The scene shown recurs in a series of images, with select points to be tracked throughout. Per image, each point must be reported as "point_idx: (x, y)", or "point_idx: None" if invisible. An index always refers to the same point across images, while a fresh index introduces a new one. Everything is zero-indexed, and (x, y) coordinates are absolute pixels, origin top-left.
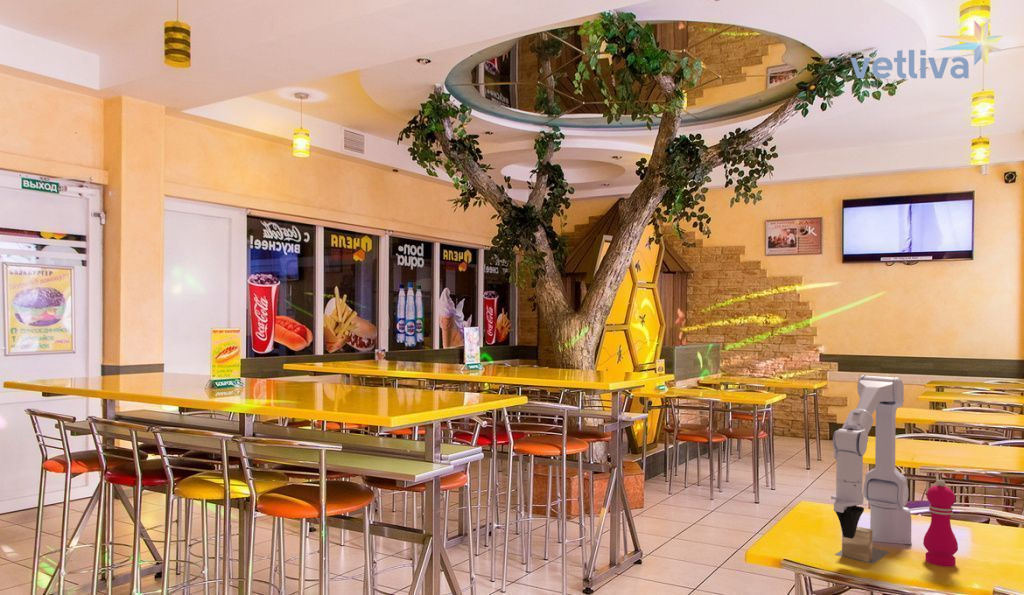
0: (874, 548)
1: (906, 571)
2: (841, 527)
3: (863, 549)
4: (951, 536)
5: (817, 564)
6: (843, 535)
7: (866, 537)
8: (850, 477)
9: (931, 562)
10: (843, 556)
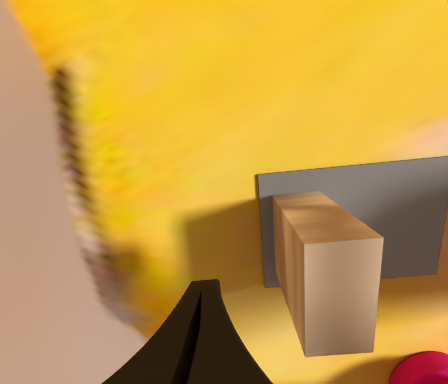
0: (441, 230)
1: (279, 352)
2: (173, 310)
3: (282, 280)
4: None
5: (117, 181)
6: (189, 286)
7: (297, 326)
8: None
9: (396, 375)
10: (264, 203)
